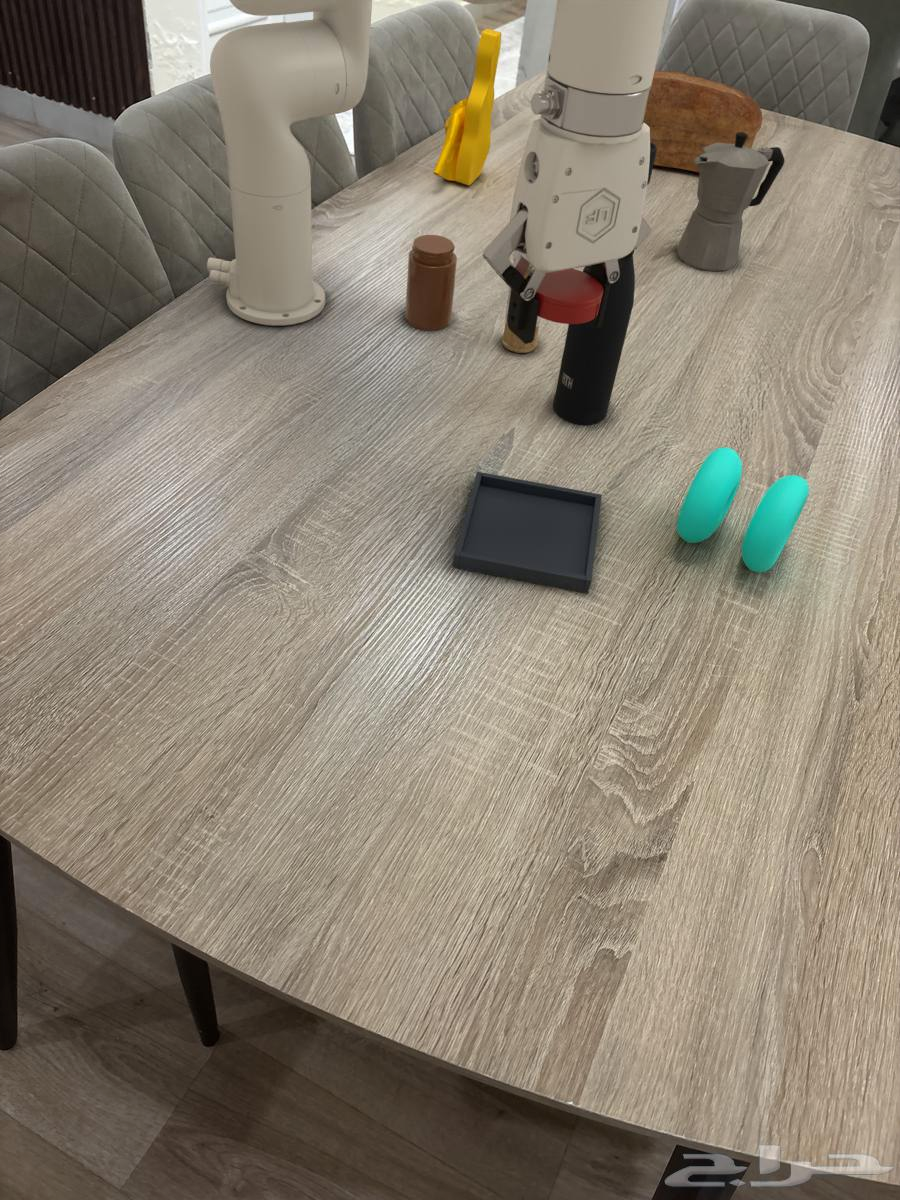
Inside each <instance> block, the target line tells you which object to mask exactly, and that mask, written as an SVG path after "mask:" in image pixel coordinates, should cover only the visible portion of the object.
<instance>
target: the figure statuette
mask: <svg viewBox="0 0 900 1200" xmlns="http://www.w3.org/2000/svg"><path fill="white" fill-rule="evenodd" d="M501 44H502V32H501V31H498V30H495V29H491V28H487V27H486V28H485V29H484V30H482V31H481V33H480V37H479V41H478V46H477V51H476V56H475V57H476V59H475V75H474V80H473V83H472V87H471V89H470V92H469V95H468V98H467V97H464V99H462V100H460V101H458V102H457V103H456V104H453V105H452V106H451V108H450V109H449V110H448V113H450V115H449V116H448V118H446V121H445V124H444V130H445V137H444V140H443V144H442V146H441V150H440V154H439V156H438V159H437V161H436V165H435V167H434V170H433V172H432V173H433V174H434V175H435V176H437V177H439V178H443V179H445V180H446V181H450V182H451V181H452V182H456V183H459V184H462V185H466V186H471V185H472V184H473V183H474V182H475V181H476V180H477V179H478V178H479V176H480V175H481V174H482V172H483V169H484V165H485V162H486V160H487V158H488V156H489V152H490V149H491V133H492V132H491V131H492V112H493V108H494V103H495V83H496V82H495V81H496V75H497V69H498V64H499V58H500V52H501V46H502V45H501Z"/></svg>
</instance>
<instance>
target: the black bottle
mask: <svg viewBox="0 0 900 1200" xmlns="http://www.w3.org/2000/svg"><path fill="white" fill-rule="evenodd" d="M656 152H657V147H656V146H655V144H653V143H652V142H650V162H649V174H648V182H647V186H648V185H649V184H650V181H651V177H652V174H653V173H652V172H653V170H654V169H653V168H654V166H655V165H654V161H655V156H656ZM588 268H589V269H590V266H584V267H583V270H582V272H583V271H584V269H588ZM635 284H636V274H635V263H634V255H633V256H632V257H631V258H630V260H629V261H628V262H627V263H626V264H625V265H624V266H623V267H622V268H621V269H620V276H619V278H618V280H617V281H616V282H614V283H611V284H610V290H609V294H608V299H607V304H606V308H605V313H604V317H603V322H602V326H601V327H597V328H594V327H592V326H591V325H590V324H589V323H587V322H586V323H580V324H567V325H568V326H567V331H566V335H565V341H564V347H563V352H562V356H561V362H560V367H559V372H558V378H557V383H556V388H555V395H554V399H553V403H552V408H553V410H554V412H555V414H557V415H558V417H559V418H561V419H563V420H565V421H566V422H569V423H571V424H575V425H582V426H583V425H585V426H586V425H587V426H588V425H595V424H598V423H600V422H602V421H604V419H605V418H606V416H607V414H608V410H609V406H610V402H611V398H612V394H613V390H614V386H615V381H616V378H617V373H618V370H619V369H618V368H619V365H620V362H621V356H622V353H623V349H624V344H625V340H626V336H627V332H628V327H629V324H630V319H631V315H632V311H633V308H634V303H635V302H634V301H635Z"/></svg>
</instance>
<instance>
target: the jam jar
mask: <svg viewBox="0 0 900 1200" xmlns="http://www.w3.org/2000/svg"><path fill="white" fill-rule="evenodd" d="M455 248H456V245H455V244H454V242H453V240H451V239H449V238H447V237H445V236H442V235H437V234H425V235H420V236H417V237H416V238H414V240H413V244H412V247H411V249H410V251H409V252H408V258H407V260H408V261H407V276H406V296H405V313H404V315H405V316H404V319H405V321H406V322H407V323H408V324H409V325H410V326H411V327H414V328H416V329H419V330H424V331H439V330H443V329H445V328H446V327H448V326H449V325H450V324H451V322H452V315H453V303H454V293H455V284H456V283H455V281H456V271H457V262H458V260H457V259H458V257H457V255H456V253H455V252H454V251H455Z"/></svg>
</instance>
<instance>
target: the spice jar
mask: <svg viewBox="0 0 900 1200" xmlns="http://www.w3.org/2000/svg"><path fill="white" fill-rule="evenodd" d="M518 253H519V251H515V250H514V251H513V252H512V258H513V262H514V261H515V259H516V257H517V255H518ZM531 268H532V265H531V264H530V265H529V267H528V269H527V271H526V273H525V275H524V278H525V279H526V278H527V276H528V274H529V272H530V270H531ZM508 287H509V286H508ZM510 294H511V288H510V287H509V288H508V294H507V304H506V310H505V318H504V319H505V321H504V322H505V323H504V330H503V335H502V338H501V344H502V346H503V347H504V348H505V349H507V350H509V351H511V352H513V353H518V354H523V353H524V354H526V353H530V352H532V351H534V350H535V349H536V348H537V345H538V334H539V327H540V324H541V319H542V318H541V317H539V316H538V318H537V324H536V330H535V336H534V340H533V341H532V343H528V344H525V343H524V342H523V341H522V340H520V339H519V338H518V337H517V336H516V335H515V334H514V333H513V332H512V331H511V330H510V329H509V328H508V323H507V316H508V309H509V301H510Z"/></svg>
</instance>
